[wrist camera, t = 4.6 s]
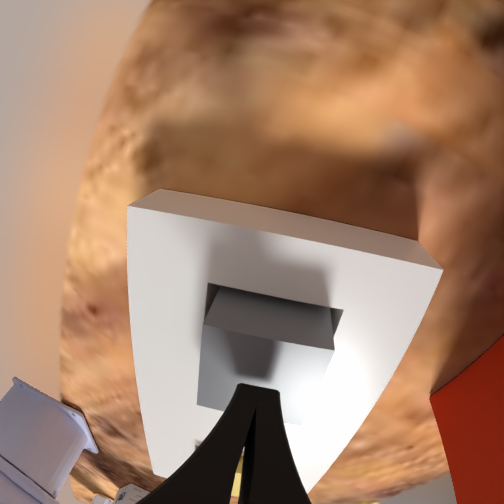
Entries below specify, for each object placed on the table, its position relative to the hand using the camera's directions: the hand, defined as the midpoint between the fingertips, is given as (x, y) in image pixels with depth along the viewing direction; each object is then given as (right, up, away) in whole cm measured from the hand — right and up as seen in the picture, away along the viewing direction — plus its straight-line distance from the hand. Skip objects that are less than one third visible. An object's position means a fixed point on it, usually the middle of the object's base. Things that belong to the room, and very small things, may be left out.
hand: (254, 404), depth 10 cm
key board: (0, -3, +8) cm, 8 cm away
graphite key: (+1, +2, +4) cm, 4 cm away
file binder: (+20, 0, +4) cm, 20 cm away
